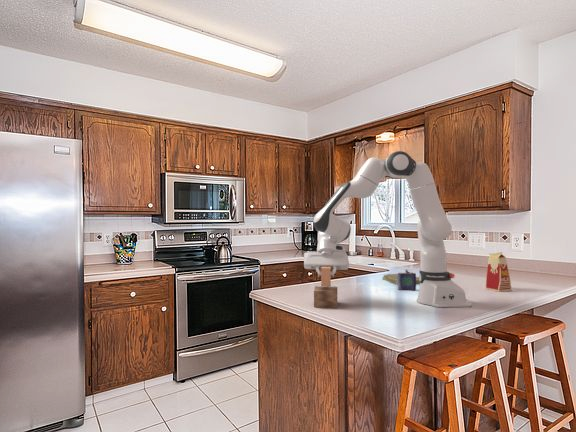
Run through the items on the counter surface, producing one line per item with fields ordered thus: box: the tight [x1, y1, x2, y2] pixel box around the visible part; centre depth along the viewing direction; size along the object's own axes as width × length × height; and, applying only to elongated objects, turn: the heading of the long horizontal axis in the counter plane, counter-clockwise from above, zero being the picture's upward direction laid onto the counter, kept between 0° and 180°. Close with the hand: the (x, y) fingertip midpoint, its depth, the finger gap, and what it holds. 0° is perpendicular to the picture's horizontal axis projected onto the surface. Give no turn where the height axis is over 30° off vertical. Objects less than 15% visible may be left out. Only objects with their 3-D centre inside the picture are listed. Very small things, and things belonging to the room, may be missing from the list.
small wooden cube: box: [313, 285, 338, 309], centre depth 161 cm, size 10×10×7 cm
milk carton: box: [485, 251, 513, 293], centre depth 191 cm, size 9×9×20 cm
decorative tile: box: [382, 273, 420, 286], centre depth 215 cm, size 19×20×4 cm
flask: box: [397, 269, 417, 292], centre depth 191 cm, size 9×3×11 cm, turn 79°
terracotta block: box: [320, 267, 332, 287], centre depth 161 cm, size 4×4×8 cm
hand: (325, 275), depth 160 cm, fingers closed on terracotta block, 4 cm apart
